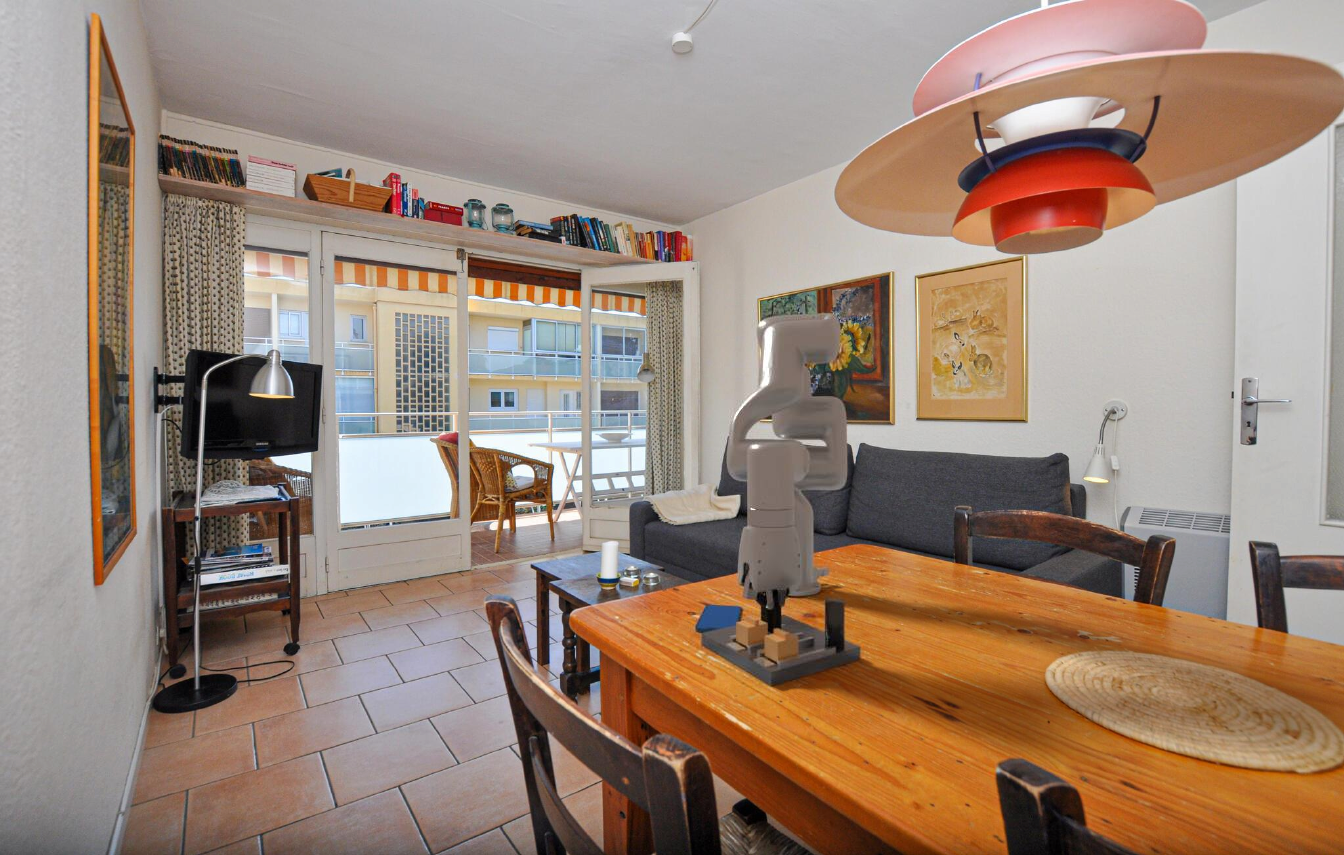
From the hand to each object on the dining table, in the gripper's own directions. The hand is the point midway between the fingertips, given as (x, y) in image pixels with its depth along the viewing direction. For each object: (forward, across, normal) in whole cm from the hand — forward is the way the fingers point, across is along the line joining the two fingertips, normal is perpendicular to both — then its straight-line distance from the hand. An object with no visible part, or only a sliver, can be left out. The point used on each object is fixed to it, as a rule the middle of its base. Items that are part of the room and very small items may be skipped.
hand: (771, 630), depth 98 cm
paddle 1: (+1, +4, 0) cm, 4 cm away
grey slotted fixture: (+3, -1, +1) cm, 4 cm away
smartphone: (+4, -2, -17) cm, 18 cm away
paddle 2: (+1, +4, +7) cm, 8 cm away
